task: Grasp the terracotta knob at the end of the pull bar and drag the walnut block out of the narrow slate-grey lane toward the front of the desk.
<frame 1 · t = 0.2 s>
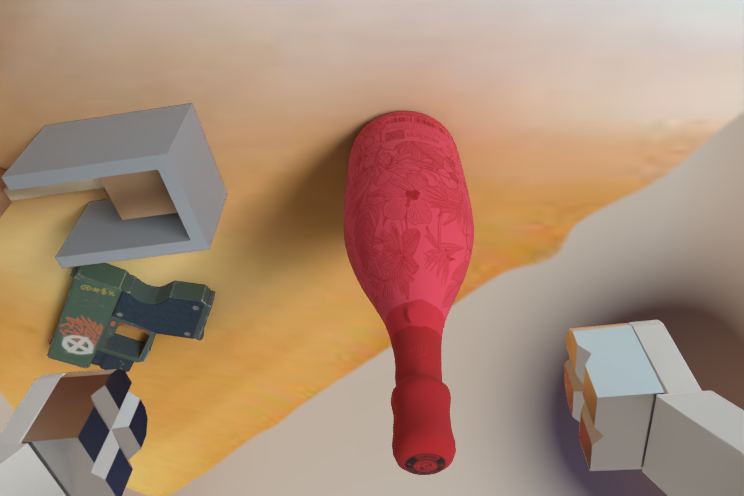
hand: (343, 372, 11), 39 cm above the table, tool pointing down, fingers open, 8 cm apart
lane: (133, 162, 54), on the table
gun: (138, 310, 67), on the table
wine bottle: (402, 152, 53), on the table
sled: (72, 186, 52), point 3 cm above the table, slide at 0.0 cm
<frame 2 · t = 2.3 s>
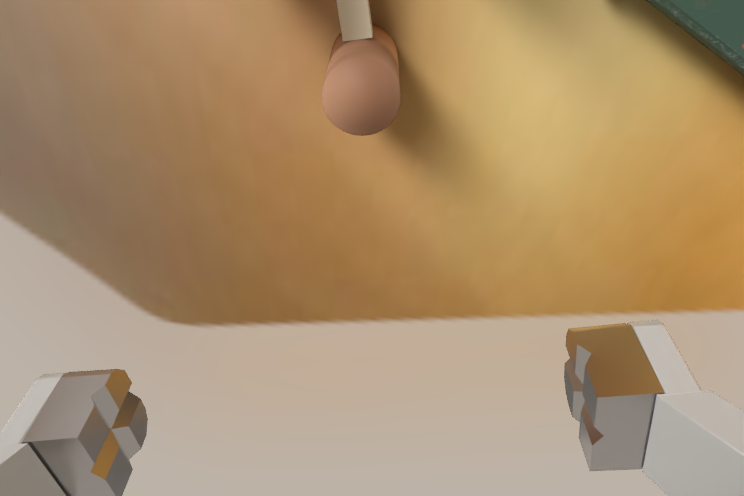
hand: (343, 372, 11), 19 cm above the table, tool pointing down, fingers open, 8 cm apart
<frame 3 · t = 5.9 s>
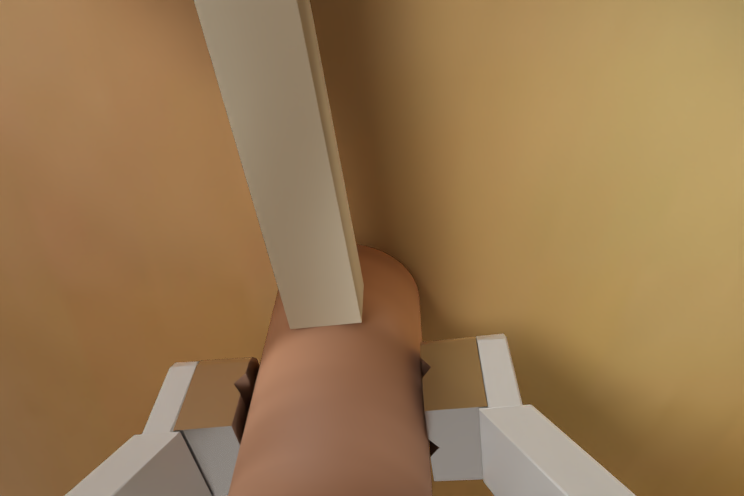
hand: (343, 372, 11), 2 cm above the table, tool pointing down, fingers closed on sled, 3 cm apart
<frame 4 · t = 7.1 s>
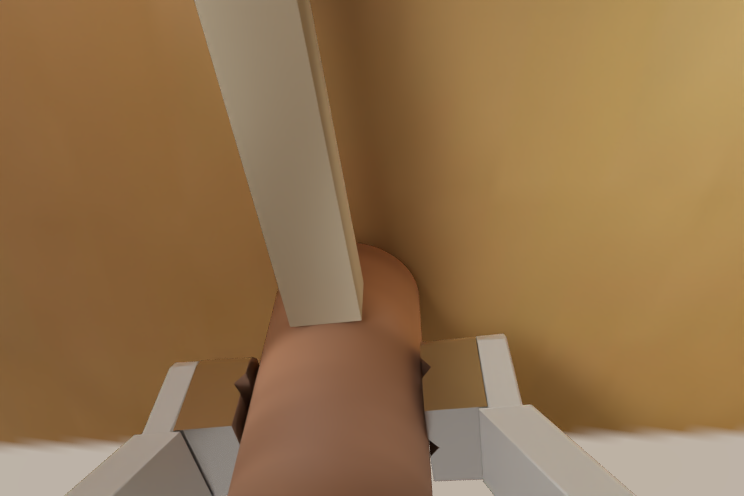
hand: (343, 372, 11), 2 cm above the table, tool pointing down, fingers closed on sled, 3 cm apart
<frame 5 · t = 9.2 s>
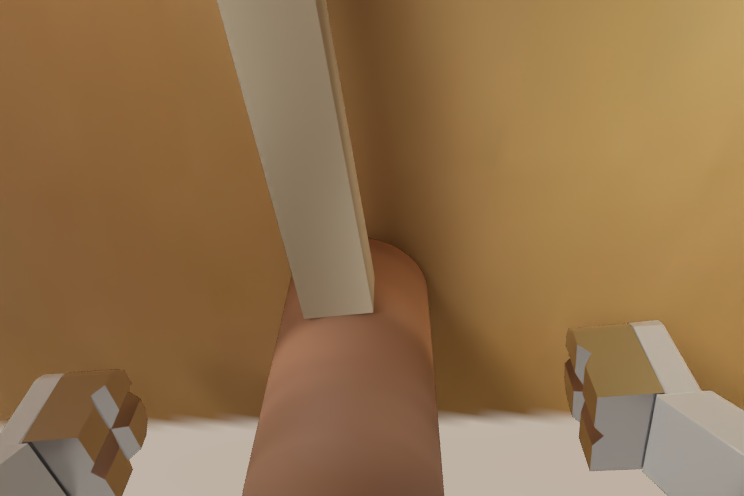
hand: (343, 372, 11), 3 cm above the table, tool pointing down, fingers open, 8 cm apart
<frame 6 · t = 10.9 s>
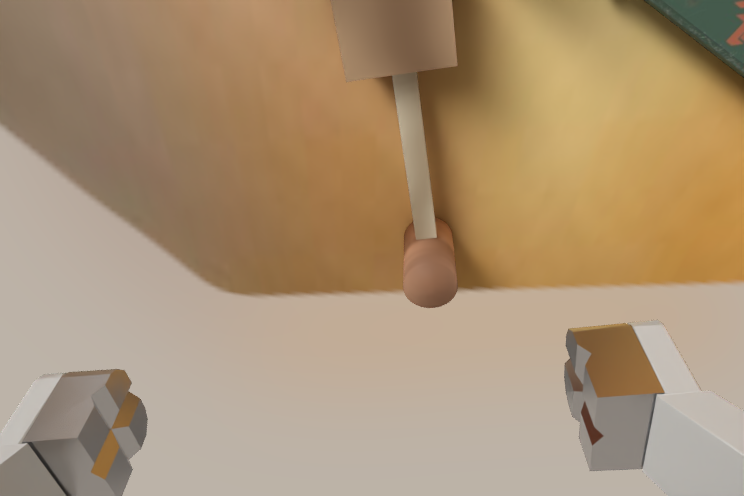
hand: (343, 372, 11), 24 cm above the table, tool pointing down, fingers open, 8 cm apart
sled: (412, 139, 31), point 3 cm above the table, slide at 11.5 cm
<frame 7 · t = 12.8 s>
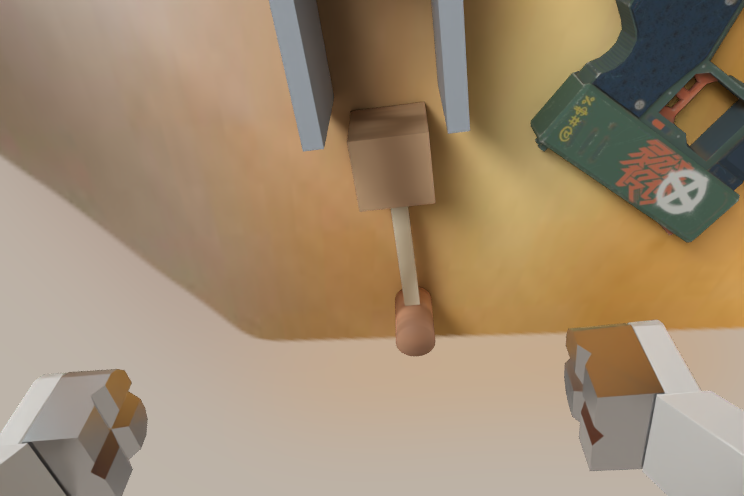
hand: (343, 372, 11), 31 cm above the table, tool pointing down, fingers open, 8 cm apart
gun: (666, 86, 40), on the table
sled: (403, 240, 43), point 3 cm above the table, slide at 11.5 cm
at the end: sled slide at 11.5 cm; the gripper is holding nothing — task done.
